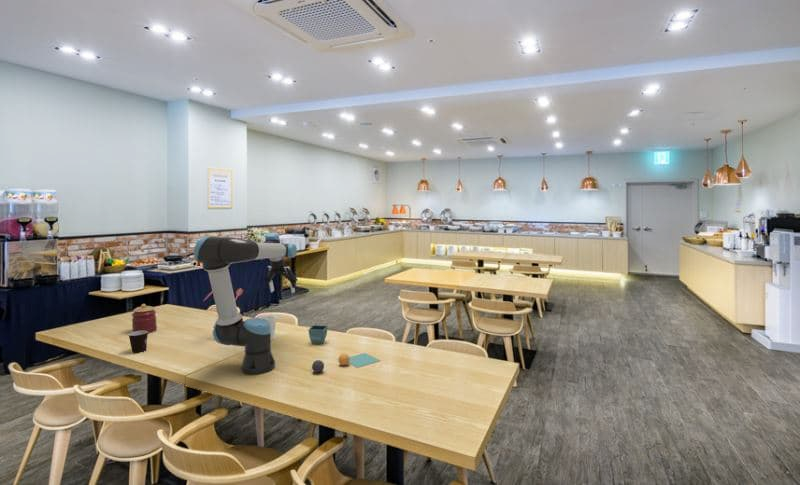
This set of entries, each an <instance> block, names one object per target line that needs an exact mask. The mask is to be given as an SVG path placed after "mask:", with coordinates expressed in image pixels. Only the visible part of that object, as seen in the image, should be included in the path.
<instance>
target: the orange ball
mask: <svg viewBox="0 0 800 485" xmlns="http://www.w3.org/2000/svg"><path fill="white" fill-rule="evenodd" d="M349 357H350V356H349V354H347V353H342V354H339V357H338V359H337V360H338V364H339V365H341V366H347V365H349V361H350V358H349Z"/></svg>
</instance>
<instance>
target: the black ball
mask: <svg viewBox="0 0 800 485" xmlns="http://www.w3.org/2000/svg"><path fill="white" fill-rule="evenodd" d="M324 368H325V364H324V362H323V360H320V359H319V360H315V361H314V362H313V363H312V365H311V369H312V371H313V372H315V373H317V374H318V373H321V372H323V370H324Z"/></svg>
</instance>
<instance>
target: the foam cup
mask: <svg viewBox="0 0 800 485" xmlns="http://www.w3.org/2000/svg"><path fill="white" fill-rule="evenodd" d="M259 318H262V319H265V320H267V321H268V322H269V323H270V329H271V341H274V339H275V334H276V333H275V332H276V331H275V330H276V325H277V324H276V323H277V316H276V315H264V316H260V317H259Z"/></svg>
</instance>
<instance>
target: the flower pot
mask: <svg viewBox="0 0 800 485" xmlns="http://www.w3.org/2000/svg"><path fill="white" fill-rule="evenodd" d="M327 334H328V325H318V324H317V325H316V324H315V325H312V326H311V327H309V328H308V336H309V340H310V342H311V343H312V344H314V345H322V344H323V343H324V342H325V339H326V338H327Z"/></svg>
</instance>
